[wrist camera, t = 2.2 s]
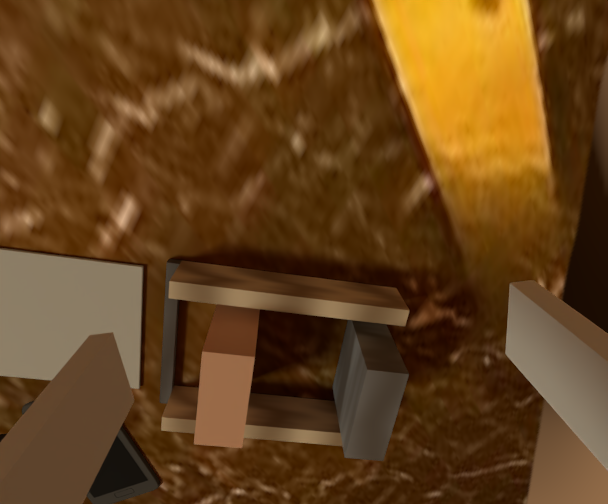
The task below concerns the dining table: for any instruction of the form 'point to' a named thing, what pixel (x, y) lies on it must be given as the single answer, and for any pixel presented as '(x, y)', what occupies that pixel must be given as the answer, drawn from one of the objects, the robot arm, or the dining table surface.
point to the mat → (66, 311)
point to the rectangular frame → (350, 371)
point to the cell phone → (120, 472)
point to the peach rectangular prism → (226, 376)
